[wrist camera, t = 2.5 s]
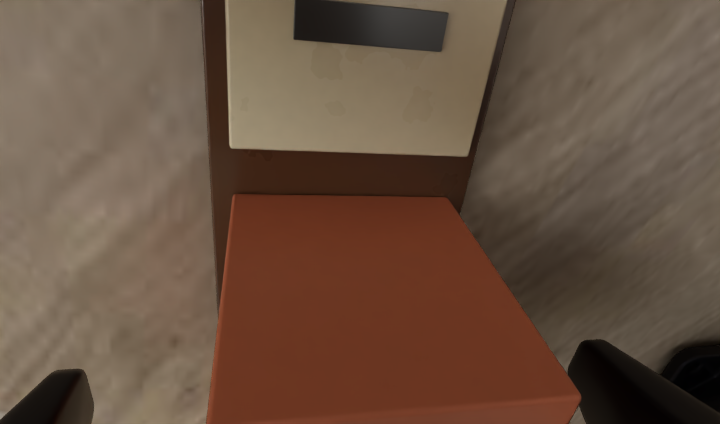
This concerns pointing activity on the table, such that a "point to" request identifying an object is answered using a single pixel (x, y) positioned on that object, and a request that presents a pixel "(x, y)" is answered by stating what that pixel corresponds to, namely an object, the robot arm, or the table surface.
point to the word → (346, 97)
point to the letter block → (373, 320)
